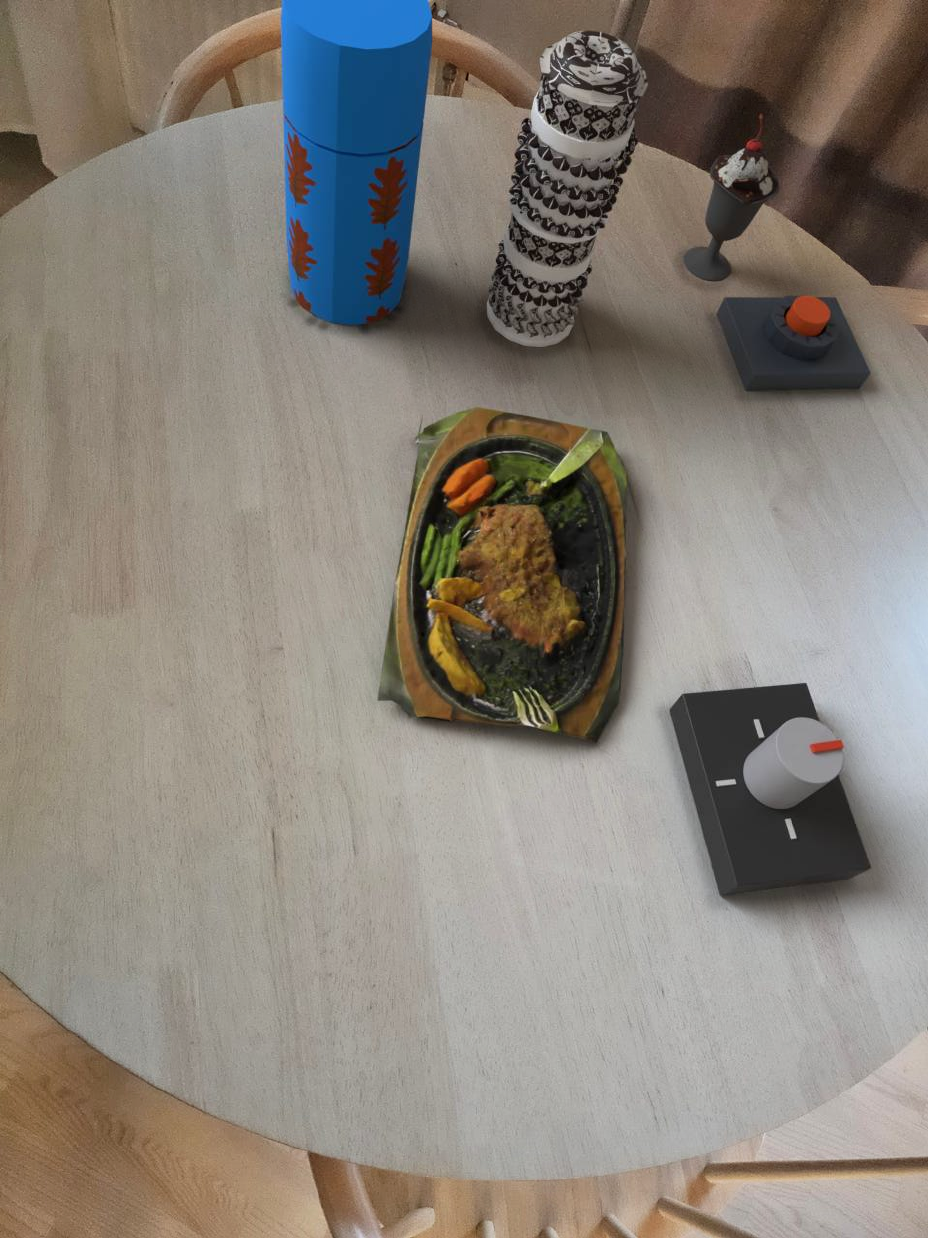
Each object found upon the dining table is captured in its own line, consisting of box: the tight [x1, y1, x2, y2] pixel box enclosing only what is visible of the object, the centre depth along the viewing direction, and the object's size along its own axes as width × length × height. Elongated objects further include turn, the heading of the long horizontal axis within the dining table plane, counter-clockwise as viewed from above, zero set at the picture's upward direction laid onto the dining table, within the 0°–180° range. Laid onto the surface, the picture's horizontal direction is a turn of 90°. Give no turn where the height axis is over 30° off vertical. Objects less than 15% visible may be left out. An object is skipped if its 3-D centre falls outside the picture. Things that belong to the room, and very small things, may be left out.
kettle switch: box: [786, 295, 830, 337], centre depth 89 cm, size 4×4×2 cm
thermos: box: [280, 0, 433, 326], centre depth 77 cm, size 11×11×25 cm
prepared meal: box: [377, 406, 628, 744], centre depth 74 cm, size 28×4×18 cm
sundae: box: [683, 113, 780, 282], centre depth 90 cm, size 7×7×15 cm
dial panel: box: [669, 682, 872, 897], centre depth 68 cm, size 14×10×3 cm
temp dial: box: [743, 717, 845, 809], centre depth 64 cm, size 5×5×6 cm
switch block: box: [716, 295, 872, 392], centre depth 91 cm, size 12×10×4 cm
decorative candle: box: [486, 29, 649, 348], centre depth 79 cm, size 9×9×25 cm
